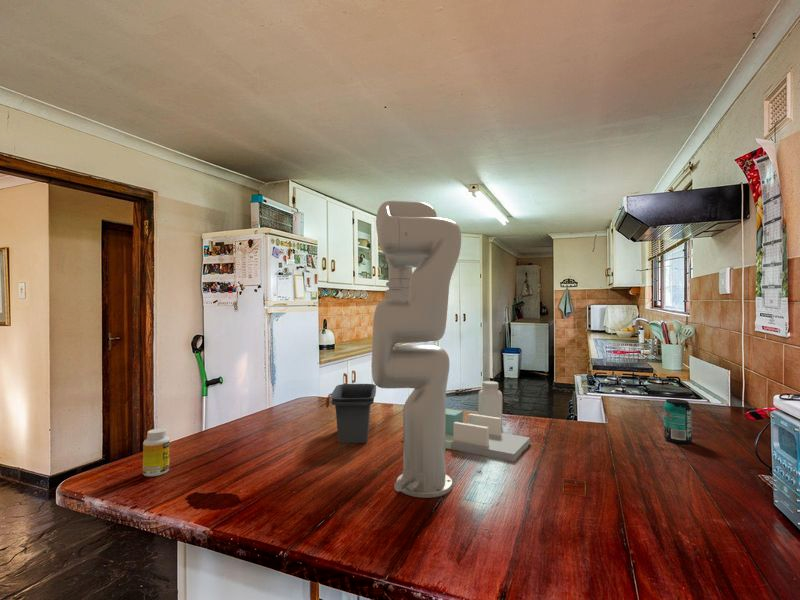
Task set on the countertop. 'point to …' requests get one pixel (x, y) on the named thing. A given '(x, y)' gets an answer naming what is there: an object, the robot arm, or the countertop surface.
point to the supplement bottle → (156, 453)
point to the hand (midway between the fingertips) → (400, 342)
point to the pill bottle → (490, 400)
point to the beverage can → (677, 421)
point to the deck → (486, 438)
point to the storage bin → (352, 411)
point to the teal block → (452, 420)
